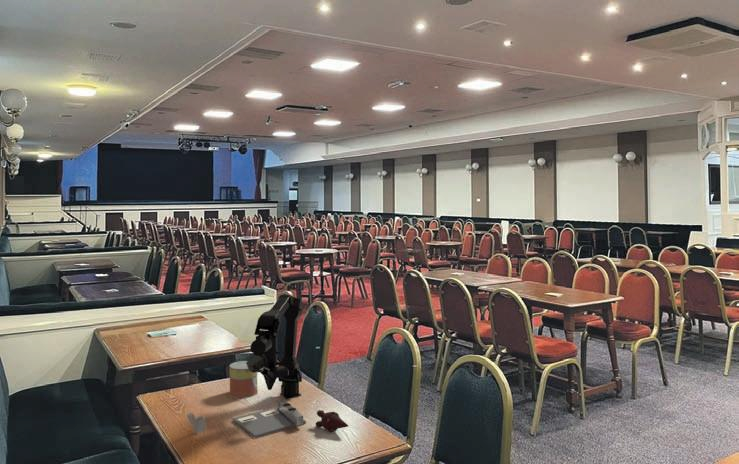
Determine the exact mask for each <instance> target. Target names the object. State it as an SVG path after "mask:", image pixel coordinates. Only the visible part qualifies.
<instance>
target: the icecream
mask: <svg viewBox="0 0 739 464" xmlns="http://www.w3.org/2000/svg"><path fill="white" fill-rule="evenodd" d="M316 415H317V417H319V418H321V419H320V420H318V421H316V422H315V427H317V428H324V430H325V431H327V432H330V433H334V432H335V431H337V430H339V429H343V428H348V427H349V425H348V424H347V423H346V422H345V420H343V419H342V418H341V417H340V415H339V413H337V412H335V411H330V412H329V411H328V412H325V411H324V410H322V409H318V410H317V411H316Z"/></svg>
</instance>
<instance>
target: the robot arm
mask: <svg viewBox="0 0 739 464" xmlns="http://www.w3.org/2000/svg"><path fill="white" fill-rule="evenodd" d="M304 307H305V305H304V302H303V300H301V299H300V298H297V297H296V296H294V295H292V294H287V293H286V294H279V297H278V299H277V301H276V302H275V303H274V305H273V306H272V307H271V309H270V310H267V311H264V312H262V314H261V315H259V317H258V319H257V322H256V326H255V330H254V336H255V339H254V340H253V341H252V342H251V344H250V351H251V353H252V355H255V356H254V357H253V358H251V359H249V360H246V361H247V362H246V364H247V367H248V369H249V371H251V372H252V373H255V372H257V373H258V372H259V373H260V374H261V375H262V376H263V378H264V381H265V384H266V388H267V390H268V391H271V390H273V389H272V388H273V387H274V385H275V383H276V381H277V380H278V382H281V385H280V393H279V395H280V396H281V397H283V398H285V399H287V400H289V399H293V398H296V397H301V396H302V394H301V393H300V383H301V382H302V381H303V372H302V371H301V368H300V363H299V361H298V359H297V357H296V356H297V355H296V354H297V353H296V351H297V336H298V321H299V320H300V318H301V317H302V315H303V311H304ZM282 317H283V318H284V319H285V333H284V335H285V336H284V347H283V348H284V349H283V357H282V359H281V360H280V361H278V355H279V354H280V350H278V334H279V330H280V328H281V324H282V321H281V318H282Z"/></svg>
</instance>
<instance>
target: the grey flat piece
mask: <svg viewBox="0 0 739 464" xmlns="http://www.w3.org/2000/svg"><path fill="white" fill-rule="evenodd" d="M186 418H187V419H188V421H189V423H190V425H193V434H195V435H199V434H201V433H204V432H205V431H206V430H207V427H206V425H207V421H206V417H204V416H203V415H200V416H196V417H195V415H194V413H193V412H188V413H187V415H186Z"/></svg>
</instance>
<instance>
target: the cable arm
mask: <svg viewBox="0 0 739 464" xmlns="http://www.w3.org/2000/svg"><path fill="white" fill-rule="evenodd" d="M277 407H278V410H280V411H281V412H282V413H283V414H284V415H285V416H287V417H288V418H289V419H290V420H291V421H292V422H293V423H294V424H296V425H299V426H302V425H301V424H303V419H304V415H303V414H302V413H301V412H300V411H298V410H297V408H296V407H293V406H292V405H291V404H290V403H289V402H288V401H286V400H285V399H278V400H277ZM303 425H304V424H303Z"/></svg>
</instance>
